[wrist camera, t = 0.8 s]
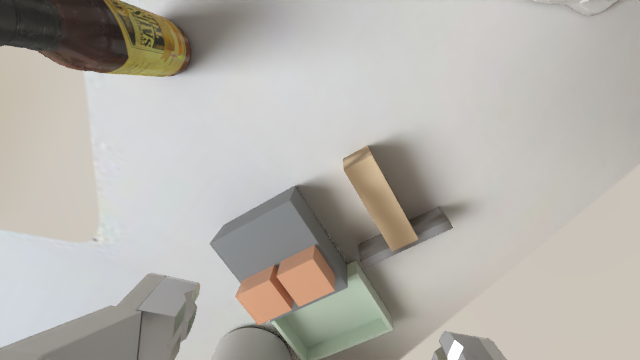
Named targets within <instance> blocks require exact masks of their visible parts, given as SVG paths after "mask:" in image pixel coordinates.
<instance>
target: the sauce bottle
mask: <svg viewBox="0 0 640 360" xmlns="http://www.w3.org/2000/svg"><path fill="white" fill-rule="evenodd" d="M4 45H8V46H14V47H21V48H27V49H31V50H36V51H38V52H39V53H41V54H43V55H44V56H45V57H48V58H49V59H51V60H53V61H54V62H56V63H58V64H60V65H63V66H65V67H67V68H72V69H76V70H84V71H94V72H99V73H110V74H127V75H142V76H157V77H164V76H174V75H176V74H178V73H180V72H182V71H183V70H184V69H185V68H186V67H187V66H188V64H189V61H190V56H191V49H190V45H189V42H188V39H187V38H186V35H185V34H184V33H183V31H182V30H181V29H180V28H179V27H178V26H176V25H175V24H173V23H172V22H171V21H169V20H168V19H166V18H164V17H161V16H159V15H156V14H153V13H151V12H148V11H146V10H143V9H140V8H138V7H136V6H133V5H130V4H127V3H125V2H122V1H120V0H0V46H4Z"/></svg>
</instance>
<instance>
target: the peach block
mask: <svg viewBox="0 0 640 360" xmlns="http://www.w3.org/2000/svg"><path fill="white" fill-rule="evenodd" d="M276 277H277V278H278V279H279V281H280V282H281V283H282V285H283V286H284V288H285V289H286V290H287V292H288V293H289V294H290V296H291V297H292V298H293V300H294V301H295V302H296V304H297V305H298V306H299V307H300V306H302V305H304V304H307V303H309V302H311V301H313V300H316V299H318V298H320V297H322V296H324V295H327V294H329V293H331V292H333V291H335V274H334V273H333V271H332V270H331V268H330V267H329V265H328V264H327V262H326V261H325V259H324V258H323V256H322V255H321V253H320V252H319V250H318V249H317V247H316V246H315V245H313V246H311V247H309V248H307V249H305V250H303V251H301V252H299V253H297V254H295V255H293V256H291V257H289V258H287V259H285V260H283V261H281V263H280V266H279V269H278V272H277V276H276Z"/></svg>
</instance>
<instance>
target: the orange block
mask: <svg viewBox="0 0 640 360" xmlns="http://www.w3.org/2000/svg"><path fill="white" fill-rule="evenodd" d="M277 272H278V269H277V268H276V266H275V265H273V266H271V267H269V268H267V269H265V270H263V271H261V272H258V273H256V274H254V275H252V276H250V277H248V278H246V279H244V280H243V281H242V283H241V285H240V287H239V289H238V291H237V294H236V296H235V297H236V298H237V299H238V300H239V302H240V303H241V304H242V305H243V307H244V308H245V309H246V310H247V312H248V313H249V314H250V315H251V317H252V318H253V319H254V320H255V321H256V323H257V324H258V325H260V324H262V323H265V322H267V321H269V320H271V319H273V318H276V317H278V316H280V315H282V314H284V313H287V312H289V311H291V310H292V308H293V302H294V300H293V298H292V297H291V296H290V294H289V293H288V292H287V290H286V289H285V288H284V286H283V285H282V283H281V282H280V281H279V279H278V278H277V277H276V276H277Z"/></svg>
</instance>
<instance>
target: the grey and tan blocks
mask: <svg viewBox="0 0 640 360" xmlns="http://www.w3.org/2000/svg"><path fill="white" fill-rule="evenodd" d="M343 164H344V171H345V173H346V174H347V176H348V178H349V180H350V181H351V183H352V185H353V186H354V188H355V190H356V191H357V193H358V195H359V197H360V198H361V200H362V202H363V203H364V205H365V207H366V208H367V210H368V212H369V213H370V215H371V217H372V219H373V220H374V222H375V224H376V225H377V227H378V229H379V230H380V232H381V234H380V235H378V236H376V237H374V238H372V239H370V240H368V241H366V242H364V243H362V244H360V245H358V246H359V253H360V261H361V263H362V264H363V266H364V267H365V268H366V267H369V266H371V265H373V264H375V263H377V262H379V261H382V260H384V259H386V258H388V257H390V256H393V255H395V254H397V253H399V252H401V251H404V250H406V249H408V248H410V247H412V246H414V245H417V244H419V243H421V242H423V241H425V240H428V239H430V238H432V237H434V236H436V235H438V234H441V233H443V232H445V231H447V230H449V229H452V228H453V227H452V225H451V223H450V221H449V219H448V218H447V217H446V216H445V214H444V213H443V212H442V211H441V209H440V208H439V207H437V208H435V209H433V210H431V211H429V212H426V213H424V214H422V215H420V216H418V217H416V218H414V219H412V220H410V221H409V220H408V218H407V216H406V215H405V213H404V211H403V209H402V207H401V206H400V204H399V202H398V200H397V198H396V196H395V195H394V193H393V191H392V189H391V187H390V186H389V184H388V182H387V180H386V178H385V177H384V175H383V173H382V171H381V169H380V167H379V166H378V164H377V162H376V160H375V158H374V157H373V155H372V153H371V151H370V149H369V148H368V146H366V147H364V148H362V149H360V150H359V151H357V152H355V153H353V154H351V155H350V156H348V157H346V158H344V159H343Z"/></svg>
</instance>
